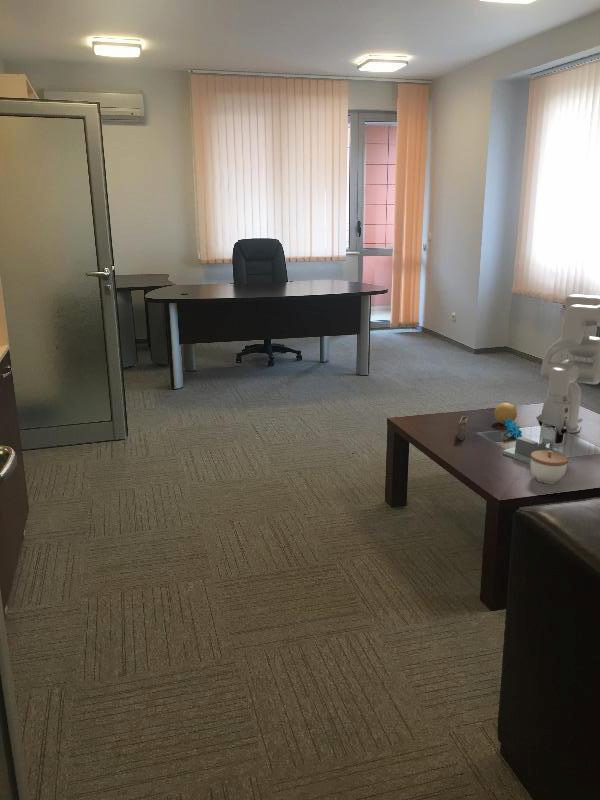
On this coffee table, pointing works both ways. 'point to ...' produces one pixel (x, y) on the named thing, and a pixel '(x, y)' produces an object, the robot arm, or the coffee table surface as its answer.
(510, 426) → the gear
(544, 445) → the plate with grey stand
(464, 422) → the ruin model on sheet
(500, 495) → the coffee table surface
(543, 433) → the grey box with knob
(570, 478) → the coffee table surface
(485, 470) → the coffee table surface
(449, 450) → the coffee table surface
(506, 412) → the stress ball
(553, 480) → the lidded bowl
